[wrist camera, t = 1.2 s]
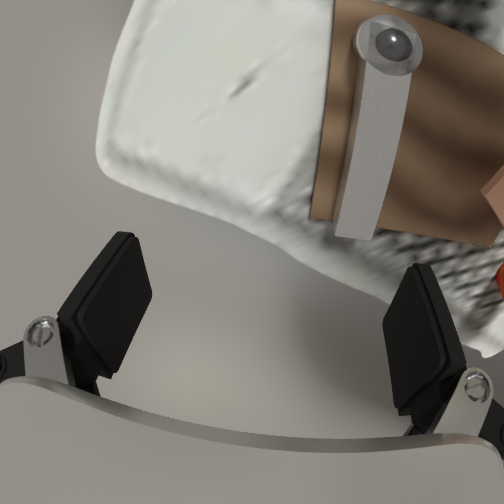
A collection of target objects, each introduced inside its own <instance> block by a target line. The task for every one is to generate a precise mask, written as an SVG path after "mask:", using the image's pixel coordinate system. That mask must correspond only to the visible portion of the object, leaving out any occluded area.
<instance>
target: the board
mask: <svg viewBox="0 0 504 504" xmlns="http://www.w3.org/2000/svg"><path fill="white" fill-rule="evenodd" d="M383 14H387V15H394V16H397V17H399V18H401V19H403V20H405V21H407V22H408V23H409V24H410V25H411V26H412V27H413V28H414V29H415V30H416V32H417V33H418V35H419V37H420V39H421V42H422V46H423V55H422V59H421V62H420V64H419V65H418V67H417V68H416V69H415V70H414V71H413V72H412V74H411V81H410V87H409V93H408V99H407V104H406V110H405V115H404V120H403V125H402V130H401V134H400V139H399V143H398V148H397V152H396V156H395V160H394V164H393V168H392V172H391V176H390V180H389V183H388V187H387V191H386V194H385V198H384V201H383V205H382V208H381V211H380V215H379V218H378V221H377V224H376V227H377V228H383V229H389V230H395V231H402V232H408V233H414V234H419V235H425V236H431V237H436V238H442V239H447V240H453V241H458V242H463V243H468V244H473V245H478V246H483V247H488V248H491V247H492V245H493V243H494V241H495V239H496V237H497V235H498V233H499V231H500V229H501V227H502V224H501V222H500V221H499V219H498V217H497V216H496V214H495V212H494V211H493V209H492V208H491V206H490V205H489V203H488V201H487V200H486V198H485V197H484V195H483V194H482V193H481V191H480V190H481V189H482V188H483V187H484V186H485V185H486V184H487V182H488V181H489V180H490V179H491V178H492V177H493V176H494V175H495V174H496V173H497V172H498V171H499V170H500V168H501V167H502V166H503V165H504V55H503V54H501V53H499V52H498V51H496V50H494V49H492V48H491V47H489V46H487V45H485V44H483V43H481V42H479V41H477V40H475V39H473V38H471V37H469V36H467V35H465V34H463V33H461V32H459V31H457V30H454V29H452V28H450V27H448V26H445V25H443V24H440V23H438V22H435V21H433V20H430V19H428V18H425V17H422V16H419V15H416V14H414V13H411V12H408V11H404V10H401V9H398V8H395V7H391V6H388V5H384V4H380V3H376V2H372V1H368V0H335V1H334V17H333V31H332V44H331V55H330V66H329V76H328V85H327V94H326V103H325V111H324V120H323V127H322V135H321V143H320V150H319V157H318V164H317V171H316V177H315V184H314V190H313V196H312V202H311V208H310V218H314V219H321V220H329V221H333V220H332V218H333V213H334V208H335V204H336V199H337V194H338V189H339V184H340V179H341V174H342V169H343V163H344V158H345V152H346V147H347V141H348V135H349V129H350V122H351V116H352V109H353V102H354V95H355V88H356V80H357V71H358V63H359V58H358V57H357V55H356V54H355V51H354V48H353V43H352V38H353V33H354V31H355V29H356V27H357V26H358V25H359V24H360V23H362V22H363V21H365V20H367V19H369V18H372V17H374V16H377V15H383Z"/></svg>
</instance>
